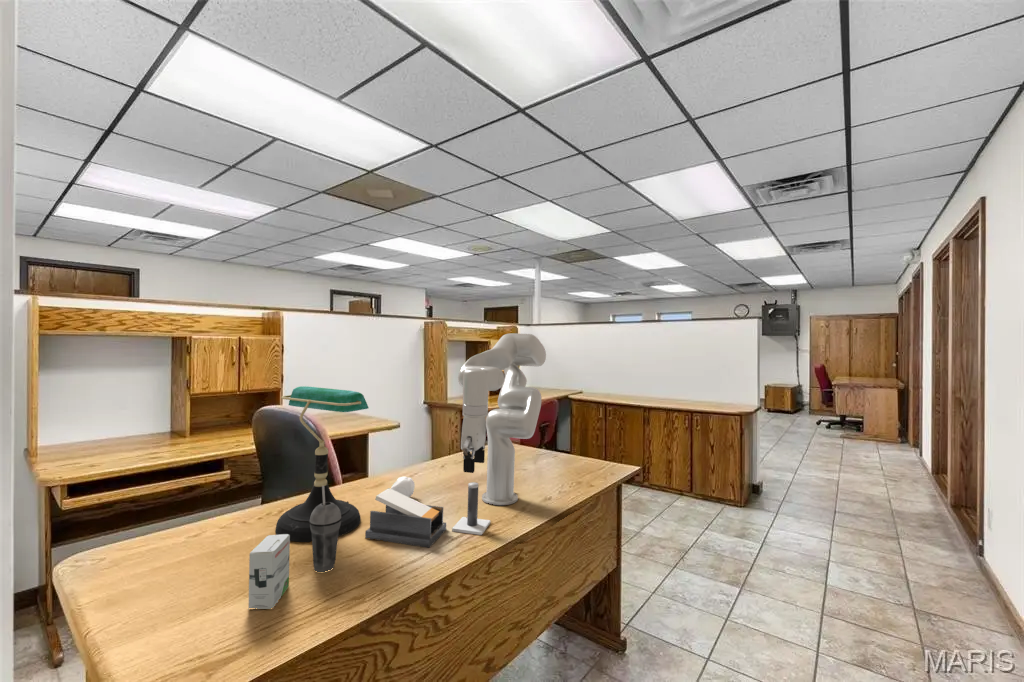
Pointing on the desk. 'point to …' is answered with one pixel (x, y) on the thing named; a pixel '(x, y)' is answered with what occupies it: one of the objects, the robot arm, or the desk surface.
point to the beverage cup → (325, 534)
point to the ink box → (269, 571)
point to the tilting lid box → (405, 527)
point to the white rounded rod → (472, 504)
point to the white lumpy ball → (404, 486)
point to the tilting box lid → (406, 504)
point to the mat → (464, 528)
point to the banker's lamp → (320, 463)
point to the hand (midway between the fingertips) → (474, 467)
